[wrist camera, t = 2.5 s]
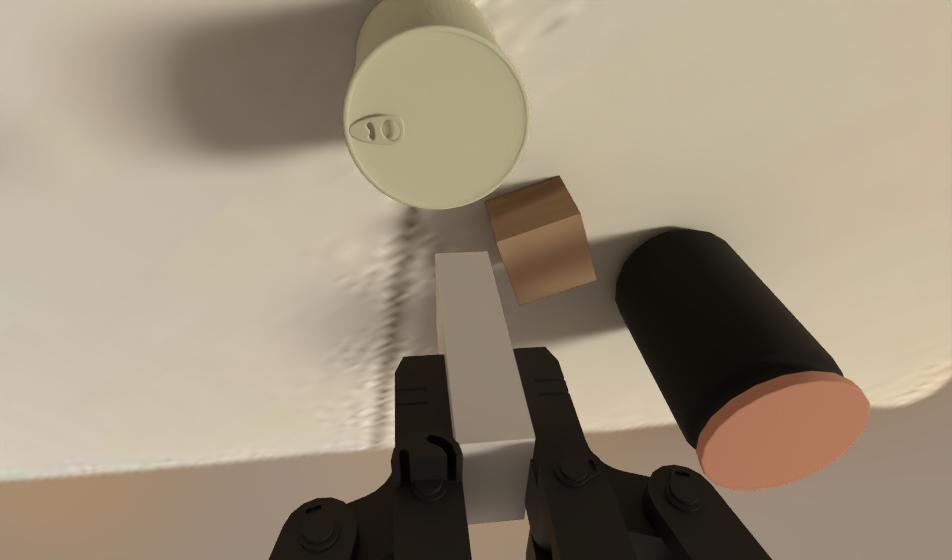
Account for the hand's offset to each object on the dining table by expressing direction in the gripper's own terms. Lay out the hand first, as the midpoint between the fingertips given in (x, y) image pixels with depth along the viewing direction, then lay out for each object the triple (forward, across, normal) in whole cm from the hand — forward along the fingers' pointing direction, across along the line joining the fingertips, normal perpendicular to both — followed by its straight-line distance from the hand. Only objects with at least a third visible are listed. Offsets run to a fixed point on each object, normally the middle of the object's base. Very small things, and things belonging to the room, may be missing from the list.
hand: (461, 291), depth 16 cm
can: (+25, 0, 0) cm, 25 cm away
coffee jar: (+25, +21, -18) cm, 37 cm away
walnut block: (+25, +8, -12) cm, 28 cm away
